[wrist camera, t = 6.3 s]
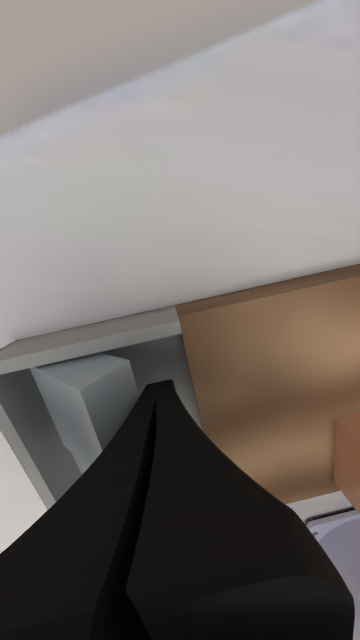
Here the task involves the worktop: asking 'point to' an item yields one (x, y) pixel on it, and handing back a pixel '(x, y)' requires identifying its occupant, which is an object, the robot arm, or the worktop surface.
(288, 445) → the board
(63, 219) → the worktop surface
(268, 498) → the robot arm
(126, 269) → the worktop surface
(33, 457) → the tray
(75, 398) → the slate tile
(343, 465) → the terracotta block
